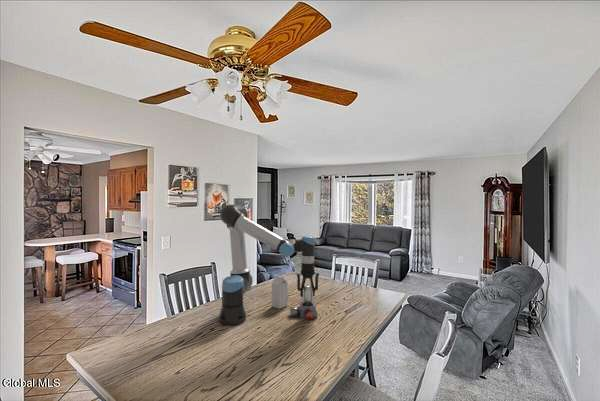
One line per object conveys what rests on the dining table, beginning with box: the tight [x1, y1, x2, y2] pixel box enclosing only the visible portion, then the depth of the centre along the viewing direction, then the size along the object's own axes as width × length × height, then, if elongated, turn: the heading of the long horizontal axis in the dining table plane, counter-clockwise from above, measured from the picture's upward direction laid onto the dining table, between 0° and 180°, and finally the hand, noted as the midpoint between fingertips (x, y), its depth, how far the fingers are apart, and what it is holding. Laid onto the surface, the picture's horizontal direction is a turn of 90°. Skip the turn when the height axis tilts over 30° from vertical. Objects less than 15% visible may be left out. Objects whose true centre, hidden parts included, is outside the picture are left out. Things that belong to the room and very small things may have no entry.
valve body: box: [289, 301, 318, 321], centre depth 167 cm, size 15×12×6 cm
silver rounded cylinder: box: [303, 284, 312, 306], centre depth 169 cm, size 5×5×12 cm
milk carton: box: [271, 275, 288, 310], centre depth 182 cm, size 7×7×19 cm
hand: (307, 301), depth 169 cm, fingers closed on silver rounded cylinder, 5 cm apart
